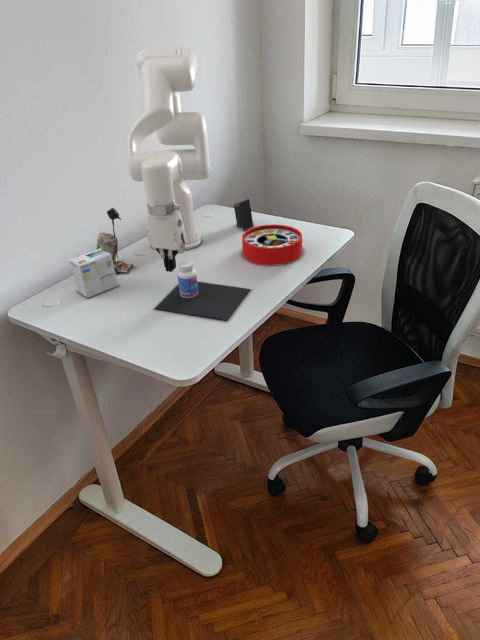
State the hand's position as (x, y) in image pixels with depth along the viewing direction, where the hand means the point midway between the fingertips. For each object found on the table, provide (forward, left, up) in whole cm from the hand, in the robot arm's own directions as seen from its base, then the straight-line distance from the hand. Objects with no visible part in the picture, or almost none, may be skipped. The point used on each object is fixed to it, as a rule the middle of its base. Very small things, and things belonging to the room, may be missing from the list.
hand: (170, 269), depth 150 cm
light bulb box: (-24, -4, -8) cm, 26 cm away
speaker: (+1, +54, -8) cm, 55 cm away
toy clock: (+19, +35, -8) cm, 41 cm away
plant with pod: (-26, +9, -8) cm, 29 cm away
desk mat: (+10, -1, -8) cm, 13 cm away
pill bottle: (+5, 0, -8) cm, 9 cm away
